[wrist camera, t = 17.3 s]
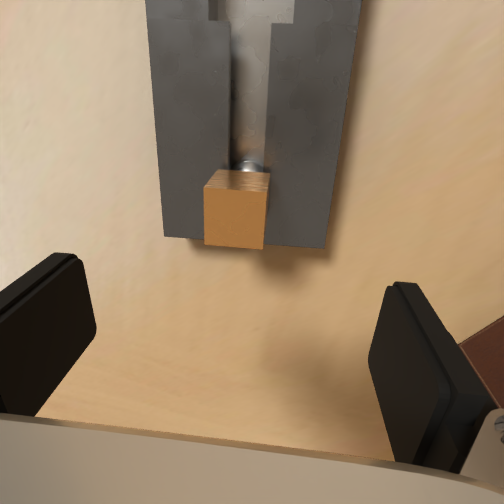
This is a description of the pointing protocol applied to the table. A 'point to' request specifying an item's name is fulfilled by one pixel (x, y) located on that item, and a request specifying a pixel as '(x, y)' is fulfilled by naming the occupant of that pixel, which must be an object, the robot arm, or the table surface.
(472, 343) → the letter holder
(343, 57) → the keyhole track
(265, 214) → the peg
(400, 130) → the table surface
